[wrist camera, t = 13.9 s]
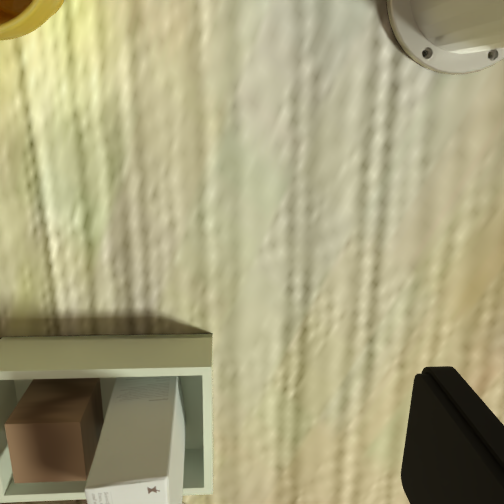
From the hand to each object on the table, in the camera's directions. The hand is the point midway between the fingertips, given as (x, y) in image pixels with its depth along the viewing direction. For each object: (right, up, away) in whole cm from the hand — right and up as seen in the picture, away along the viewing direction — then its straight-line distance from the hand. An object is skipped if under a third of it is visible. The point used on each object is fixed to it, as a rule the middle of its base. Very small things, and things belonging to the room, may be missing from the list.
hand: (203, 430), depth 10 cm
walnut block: (-17, -11, +37) cm, 42 cm away
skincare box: (-8, -11, +37) cm, 40 cm away
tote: (-13, -11, +38) cm, 41 cm away
